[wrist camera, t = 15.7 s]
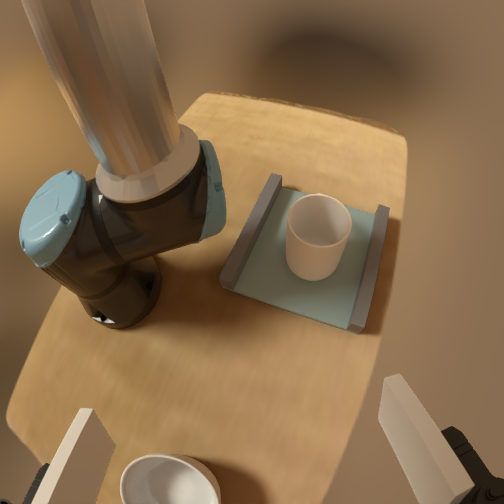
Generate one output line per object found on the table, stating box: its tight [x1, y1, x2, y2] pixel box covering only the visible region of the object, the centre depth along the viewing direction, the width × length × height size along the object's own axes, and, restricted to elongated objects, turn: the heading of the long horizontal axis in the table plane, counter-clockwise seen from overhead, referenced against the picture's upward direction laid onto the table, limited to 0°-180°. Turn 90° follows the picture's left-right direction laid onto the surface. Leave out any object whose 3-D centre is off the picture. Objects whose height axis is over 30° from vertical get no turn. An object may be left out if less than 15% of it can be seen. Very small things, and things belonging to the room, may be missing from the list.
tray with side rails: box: [218, 173, 390, 334], centre depth 47 cm, size 22×22×4 cm
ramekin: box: [120, 453, 221, 504], centre depth 28 cm, size 13×13×7 cm
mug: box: [286, 193, 352, 281], centre depth 44 cm, size 9×12×11 cm
